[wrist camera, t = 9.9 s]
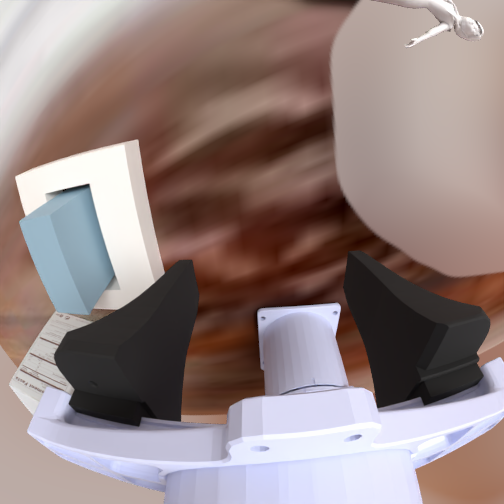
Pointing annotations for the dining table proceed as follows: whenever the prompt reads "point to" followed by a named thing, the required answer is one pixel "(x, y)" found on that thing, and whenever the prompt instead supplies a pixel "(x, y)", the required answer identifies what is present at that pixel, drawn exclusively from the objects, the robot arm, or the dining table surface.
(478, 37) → the woman figurine
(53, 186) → the white rectangular frame
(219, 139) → the dining table surface
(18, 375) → the supplement box
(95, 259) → the block
